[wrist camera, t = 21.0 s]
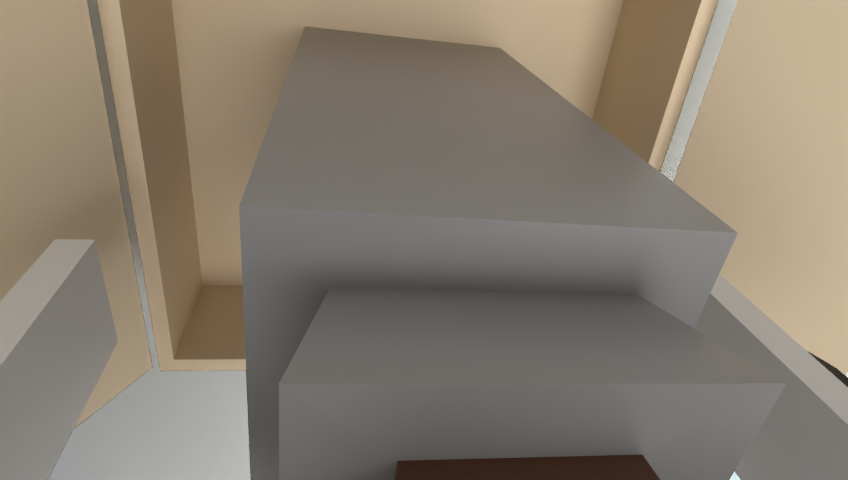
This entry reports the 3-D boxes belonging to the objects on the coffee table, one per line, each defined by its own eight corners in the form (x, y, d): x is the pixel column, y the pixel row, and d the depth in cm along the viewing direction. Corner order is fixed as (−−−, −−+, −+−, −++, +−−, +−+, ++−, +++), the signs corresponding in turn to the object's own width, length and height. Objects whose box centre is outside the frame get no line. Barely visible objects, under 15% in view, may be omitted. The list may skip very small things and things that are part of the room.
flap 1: (152, 367, 18) (145, 364, 18) (67, -109, 11) (56, -110, 11) (-52, 526, 13) (-60, 521, 13) (-407, -166, 6) (-422, -168, 6)
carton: (193, 287, 23) (159, 371, 19) (142, -140, 16) (69, -163, 12) (551, 292, 26) (593, 366, 21) (649, -72, 18) (742, -71, 14)
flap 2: (785, 468, 17) (788, 463, 17) (1077, 15, 10) (1075, 14, 11) (608, 362, 20) (612, 359, 20) (747, -25, 14) (750, -25, 14)
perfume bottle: (304, 26, 18) (89, 615, 3) (499, 47, 19) (1137, 543, 4) (301, 208, 21) (195, 950, 6) (468, 217, 23) (745, 855, 7)
